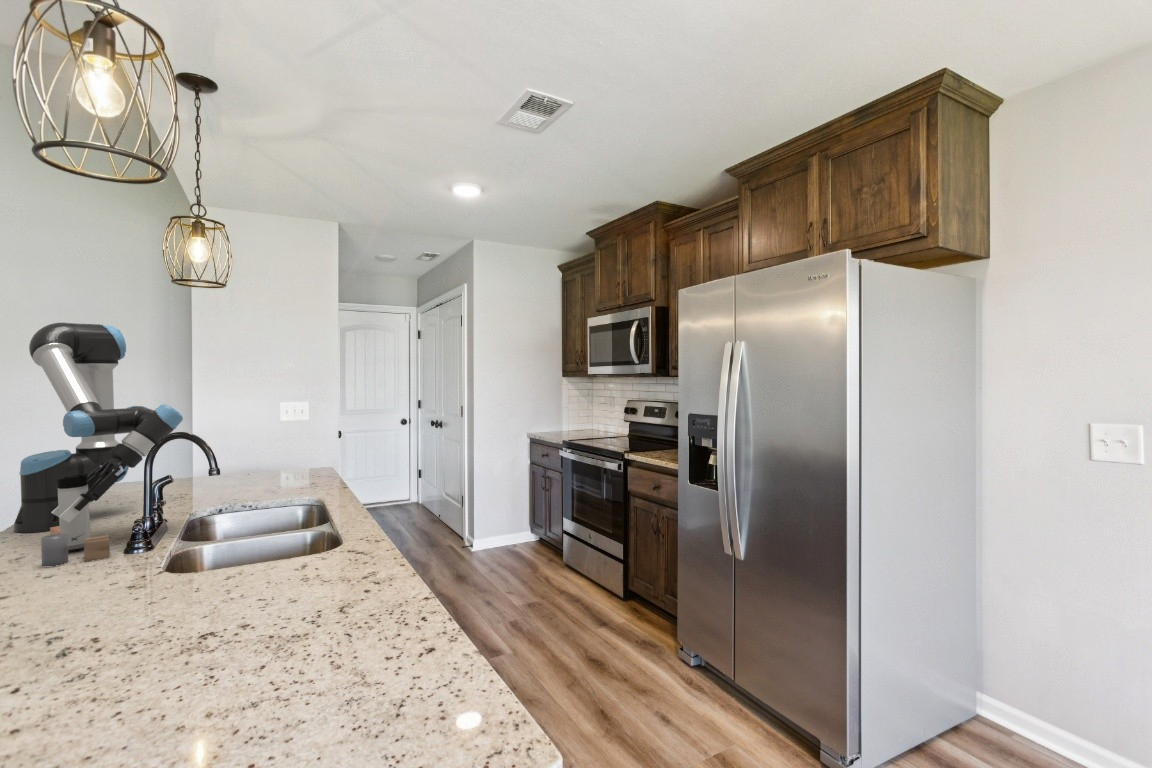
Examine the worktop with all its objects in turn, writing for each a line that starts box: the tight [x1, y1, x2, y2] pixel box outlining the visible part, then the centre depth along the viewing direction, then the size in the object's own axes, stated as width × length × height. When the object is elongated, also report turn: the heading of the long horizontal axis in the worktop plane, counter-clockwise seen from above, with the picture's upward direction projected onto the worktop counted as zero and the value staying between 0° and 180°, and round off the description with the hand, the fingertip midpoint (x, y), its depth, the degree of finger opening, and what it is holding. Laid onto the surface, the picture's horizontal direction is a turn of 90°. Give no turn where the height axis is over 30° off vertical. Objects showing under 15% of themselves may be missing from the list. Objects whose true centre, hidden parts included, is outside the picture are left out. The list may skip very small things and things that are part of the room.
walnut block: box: [83, 534, 111, 563], centre depth 149 cm, size 5×5×5 cm
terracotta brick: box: [49, 526, 60, 535], centre depth 164 cm, size 8×4×4 cm, turn 55°
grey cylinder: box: [40, 534, 69, 567], centre depth 145 cm, size 5×5×7 cm
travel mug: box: [57, 473, 92, 551], centre depth 155 cm, size 6×7×20 cm
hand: (60, 517), depth 153 cm, fingers closed on travel mug, 6 cm apart
